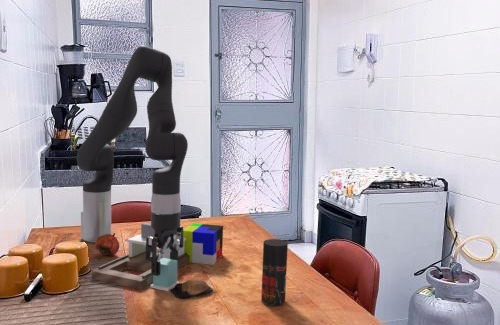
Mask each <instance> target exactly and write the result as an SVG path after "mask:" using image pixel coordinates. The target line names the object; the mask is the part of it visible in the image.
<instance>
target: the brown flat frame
mask: <svg viewBox="0 0 500 325" xmlns="http://www.w3.org/2000/svg"><path fill="white" fill-rule="evenodd" d="M151 253H152V252H150V256H151ZM157 255H158V253H156V257H157ZM145 256H146V251H145V252H143V253H140V254H138V255H136V256H134V257H129V253H127V254H124V255H123V256H120V257H117V258H115V259H113V260H111V261H108V262H107V263H104V264H102V265H99V266H98V268H95V269H94V270H91V280H96V281H99V282H100V281H101V282H104V283H109V284H110V283H111V284H114V285H118V286H119V285H120V286H125V287H126V288H127V287H128V288H133V289H138V290H142V289H144V288H146V287H147V286H149V285H151V284H153V275H152V273H151V261H148V260H146V259H145ZM162 258H163V254H162V256H161V259H162ZM186 264H190V262H189V255H187V253H185V254H183V255H181V256H179V257H178V265H177V270H178V269H179V268H181V267H184V266H185V265H186ZM126 269H128V270H132V271H138V272H143V273H140V274H139V275H136V274H133V273H127V272H122V271H123V270H126Z"/></svg>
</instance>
